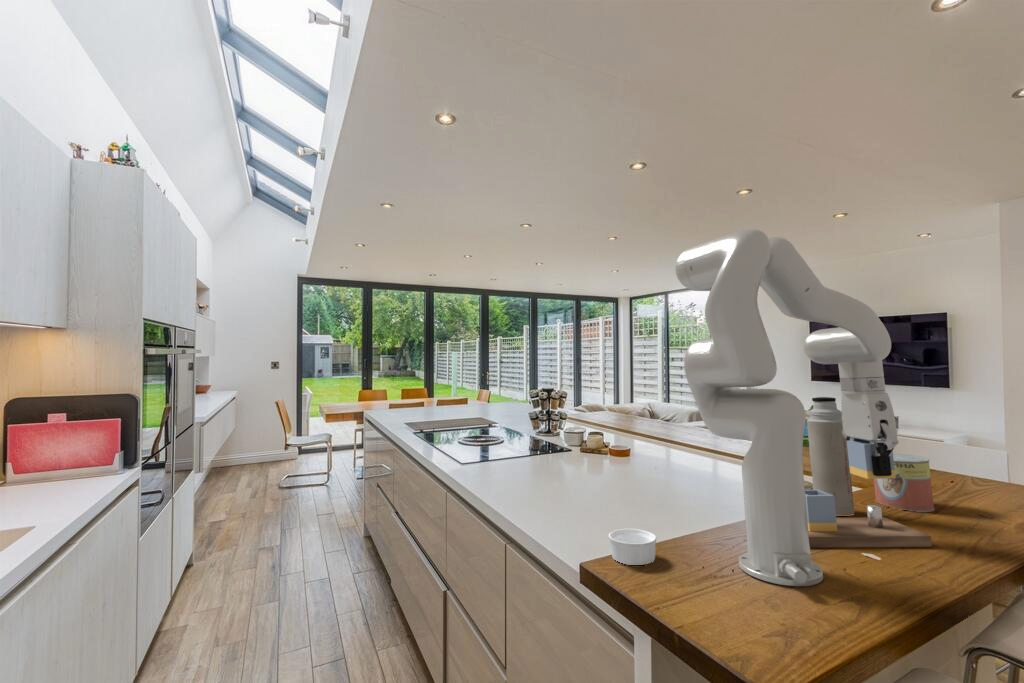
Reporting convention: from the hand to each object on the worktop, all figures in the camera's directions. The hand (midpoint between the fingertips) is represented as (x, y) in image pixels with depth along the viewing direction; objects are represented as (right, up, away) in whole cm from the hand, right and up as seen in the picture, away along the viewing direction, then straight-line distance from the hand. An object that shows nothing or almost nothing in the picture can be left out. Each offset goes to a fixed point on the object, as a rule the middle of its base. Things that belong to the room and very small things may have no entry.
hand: (871, 471), depth 95 cm
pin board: (-6, -13, -1) cm, 15 cm away
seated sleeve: (-12, -12, 0) cm, 17 cm away
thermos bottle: (+3, -15, +15) cm, 21 cm away
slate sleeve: (0, -1, 0) cm, 1 cm away
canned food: (+23, -14, +19) cm, 33 cm away
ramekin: (-53, -14, -9) cm, 55 cm away
